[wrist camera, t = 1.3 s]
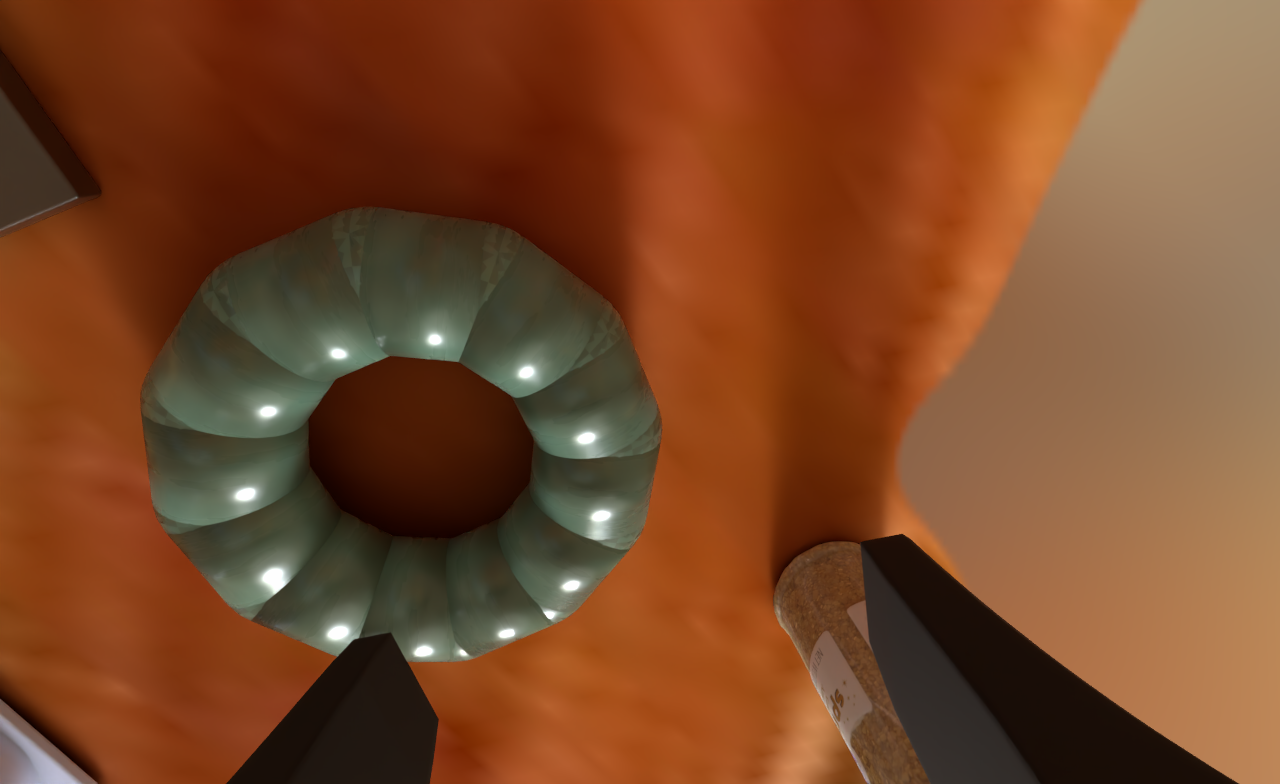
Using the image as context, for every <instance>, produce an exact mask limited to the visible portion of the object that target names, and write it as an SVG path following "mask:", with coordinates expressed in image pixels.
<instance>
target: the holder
mask: <svg viewBox="0 0 1280 784" xmlns="http://www.w3.org/2000/svg"><path fill="white" fill-rule="evenodd" d="M100 195H101V191H100V189H99V188H98V186H97V185H96V184H95V182H94V181H93V179H92V178H91V177H90V175H89V174H88V172H87V171H86V170H85V168H84V167H83V165H82V164H81V162H80V161H79V160H78V158H77V157H76V155H75V154H74V153H73V151H72V150H71V148H70V147H69V146H68V144H67V143H66V141H65V140H64V139H63V137H62V136H61V134H60V133H59V132H58V130H57V129H56V127H55V126H54V125H53V123H52V122H51V120H50V119H49V118H48V116H47V115H46V113H45V112H44V111H43V109H42V108H41V106H40V105H39V104H38V102H37V101H36V99H35V98H34V97H33V95H32V94H31V92H30V91H29V90H28V88H27V87H26V85H25V84H24V83H23V81H22V80H21V78H20V77H19V76H18V74H17V73H16V71H15V70H14V68H13V67H12V66H11V64H10V63H9V61H8V60H7V59H6V57H5V56H4V54H3V53H2V52H1V50H0V237H3V236H5V235H8V234H10V233H12V232H15V231H17V230H20V229H22V228H24V227H27V226H29V225H31V224H34V223H36V222H39V221H41V220H43V219H46V218H48V217H51V216H53V215H55V214H58V213H60V212H63V211H65V210H67V209H70V208H72V207H75V206H77V205H79V204H82V203H84V202H86V201H89V200H91V199H94V198H96V197H98V196H100Z"/></svg>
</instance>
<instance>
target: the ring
mask: <svg viewBox="0 0 1280 784" xmlns="http://www.w3.org/2000/svg"><path fill="white" fill-rule="evenodd" d="M389 356H399V357H410V358H421V359H432V360H443V361H454V362H459V363H461V364H462V365H464V366H465V367H467V368H469V369H470V370H472V371H473V372H475V373H476V374H478V375H480V376H481V377H483V378H484V379H486V380H487V381H489V382H491V383H492V384H494V385H495V386H497V387H498V388H500V389H502V390H503V391H505V392H506V393H508V394H509V395H511V396H512V398H513V400H514V402H515V404H516V406H517V408H518V410H519V412H520V414H521V416H522V418H523V420H524V422H525V423H526V425H527V427H528V429H529V431H530V433H531V435H532V437H533V439H534V447H533V456H532V465H531V474H530V482H529V484H528V485H527V486H526V487H525V489H524V490H523V491H522V492H521V494H520V495H519V496H518V497H517V499H516V500H515V501H514V502H513V504H512V505H511V506H510V507H509V509H508V510H507V511H506V512H505V514H504V515H503V516H502V517H501V518H499V519H496V520H494V521H492V522H489V523H487V524H484V525H482V526H480V527H477V528H475V529H473V530H470V531H468V532H466V533H463V534H461V535H459V536H456V537H454V538H434V537H406V536H392V535H390V534H388V533H386V532H384V531H382V530H380V529H378V528H376V527H374V526H372V525H370V524H368V523H366V522H364V521H362V520H361V519H359V518H357V517H355V516H353V515H351V514H349V513H347V512H345V511H343V510H341V509H340V508H339V507H338V505H337V504H336V502H335V501H334V499H333V498H332V497H331V495H330V494H329V492H328V491H327V490H326V488H325V487H324V485H323V484H322V482H321V481H320V480H319V478H318V477H317V475H316V474H315V472H314V471H313V470H312V468H311V467H310V462H309V423H308V418H309V417H310V416H311V414H312V413H313V411H314V410H315V408H316V407H317V405H318V404H319V403H320V401H321V400H322V398H323V397H324V395H325V394H326V392H327V391H328V390H329V388H330V387H331V385H332V384H333V382H334V381H335V379H337V378H339V377H342V376H344V375H346V374H349V373H351V372H353V371H356V370H358V369H360V368H363V367H365V366H368V365H370V364H372V363H375V362H377V361H379V360H382V359H384V358H387V357H389ZM140 402H141V416H142V424H143V432H144V440H145V448H146V456H147V464H148V472H149V480H150V488H151V497H152V504H153V508H154V511H155V514H156V518H157V520H158V521H159V523H160V524H161V526H162V527H163V529H164V530H165V532H166V533H167V534H168V535H169V537H170V538H171V539H172V540H173V541H174V542H175V544H176V545H177V546H178V547H179V548H180V549H181V551H182V552H183V553H184V554H185V555H186V556H187V558H188V559H189V560H190V561H191V562H192V563H193V565H194V566H195V567H196V568H197V569H198V570H199V572H200V573H201V574H202V575H203V576H204V577H205V578H206V580H207V581H208V582H209V583H210V584H211V585H212V587H213V588H214V589H215V590H216V591H217V592H218V594H219V595H220V596H221V597H222V598H223V599H224V601H225V602H226V603H227V604H228V605H229V606H230V607H231V608H232V609H233V610H235V611H236V612H237V613H238V614H239V615H241V616H243V617H245V618H247V619H249V620H250V621H253V622H255V623H258V624H260V625H262V626H265V627H267V628H270V629H272V630H274V631H277V632H279V633H281V634H284V635H286V636H289V637H291V638H293V639H296V640H298V641H301V642H303V643H305V644H308V645H310V646H313V647H315V648H317V649H320V650H322V651H324V652H327V653H329V654H332V655H334V656H336V657H338V656H339V654H340V653H341V652H342V651H343V650H344V649H345V648H346V647H347V646H348V645H349V644H350V643H351V642H352V641H353V640H354V639H358V638H363V637H369V636H374V635H379V634H384V633H389V632H391V633H392V635H393V637H394V639H395V641H396V643H397V644H398V646H399V648H400V650H401V652H402V654H403V655H404V657H405V659H406V661H407V662H456V661H466V660H469V659H473V658H476V657H479V656H481V655H484V654H486V653H488V652H491V651H493V650H495V649H498V648H500V647H502V646H505V645H507V644H509V643H512V642H514V641H516V640H519V639H521V638H523V637H526V636H528V635H530V634H533V633H535V632H538V631H540V630H542V629H545V628H547V627H549V626H552V625H554V624H556V623H558V622H560V621H562V620H564V619H565V618H567V617H569V616H570V615H572V614H573V613H574V612H575V611H576V610H577V609H578V608H579V607H580V606H581V605H582V604H583V603H584V602H585V600H586V599H587V598H588V597H589V596H590V595H591V594H592V592H593V591H594V590H595V589H596V588H597V587H598V585H599V584H600V583H601V582H602V581H603V580H604V579H605V577H606V576H607V575H608V574H609V573H610V572H611V570H612V569H613V568H614V567H615V566H616V565H617V564H618V562H619V561H620V560H621V559H622V558H623V557H624V555H625V554H626V553H627V552H628V551H629V550H630V549H631V547H632V546H633V545H634V544H635V542H636V541H637V539H638V537H639V536H640V535H641V532H642V530H643V528H644V525H645V521H646V518H647V513H648V508H649V502H650V497H651V491H652V486H653V480H654V475H655V470H656V464H657V459H658V453H659V448H660V442H661V434H662V421H661V415H660V411H659V408H658V404H657V402H656V399H655V397H654V394H653V392H652V390H651V387H650V385H649V382H648V380H647V377H646V375H645V372H644V370H643V368H642V365H641V363H640V360H639V358H638V355H637V353H636V351H635V348H634V346H633V343H632V341H631V338H630V336H629V333H628V331H627V329H626V326H625V324H624V322H623V320H622V318H621V316H620V314H619V313H618V311H617V310H616V309H615V308H614V306H613V305H612V304H611V303H610V302H609V301H608V300H607V299H605V298H604V297H603V296H602V295H601V294H600V293H598V292H597V291H596V290H594V289H593V288H592V287H590V286H589V285H588V284H586V283H585V282H584V281H582V280H581V279H579V278H578V277H577V276H575V275H574V274H573V273H571V272H570V271H569V270H567V269H566V268H565V267H563V266H562V265H561V264H559V263H558V262H557V261H555V260H554V259H553V258H551V257H550V256H549V255H547V254H546V253H545V252H543V251H542V250H541V249H539V248H538V247H537V246H535V245H534V244H533V243H531V242H530V241H529V240H527V239H526V238H525V237H523V236H521V235H520V234H518V233H517V232H515V231H513V230H511V229H510V228H507V227H504V226H502V225H499V224H495V223H490V222H485V221H477V220H470V219H463V218H455V217H448V216H441V215H433V214H426V213H418V212H411V211H404V210H396V209H389V208H381V207H358V208H350V209H346V210H343V211H340V212H337V213H335V214H332V215H330V216H327V217H325V218H323V219H320V220H318V221H315V222H313V223H311V224H308V225H306V226H304V227H301V228H299V229H296V230H294V231H292V232H289V233H287V234H285V235H282V236H280V237H277V238H275V239H273V240H270V241H268V242H265V243H263V244H261V245H258V246H256V247H254V248H251V249H249V250H246V251H244V252H242V253H239V254H237V255H235V256H233V257H231V258H229V259H227V260H226V261H224V262H223V263H221V264H220V265H219V266H218V267H216V268H215V269H214V270H213V271H212V272H211V273H210V274H209V275H208V276H207V277H206V279H205V280H204V281H203V283H202V284H201V286H200V287H199V289H198V291H197V292H196V294H195V296H194V297H193V299H192V300H191V302H190V304H189V305H188V307H187V309H186V310H185V312H184V313H183V315H182V317H181V318H180V320H179V322H178V323H177V325H176V326H175V328H174V330H173V331H172V333H171V335H170V336H169V338H168V339H167V341H166V343H165V344H164V346H163V348H162V349H161V351H160V352H159V354H158V356H157V357H156V359H155V360H154V362H153V364H152V365H151V367H150V369H149V371H148V373H147V375H146V377H145V379H144V383H143V385H142V390H141V398H140Z"/></svg>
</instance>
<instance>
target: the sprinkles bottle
mask: <svg viewBox="0 0 1280 784" xmlns="http://www.w3.org/2000/svg"><path fill="white" fill-rule="evenodd" d="M773 603H774V610H775V613H776V616H777V619H778V621H779V624H780V626H781V627H782V628H783V629H785V631H786V632H787V633H788V634H789V636H790V637H791V639H792V641H793V643H794V645H795V646H796V648H797V650H798V652H799V654H800V656H801V657H802V660H803V662H804V663H805V665H806V668H807V669H808V671H809V673H810V675H811V678H812V681H813V684H814V686H815V687H816V689H817V691H818V693H819V695H820V697H821V698H822V700H823V702H824V704H825V706H826V708H827V709H828V711H829V713H830V715H831V717H832V719H833V720H834V722H835V724H836V726H837V727H838V729H839V731H840V733H841V735H842V737H843V739H844V740H845V742H846V744H847V746H848V748H849V750H850V752H851V754H852V755H853V757H854V759H855V761H856V763H857V765H858V767H859V769H860V771H861V772H862V774H863V776H864V778H865V780H866V782H867V784H931V783H930V781H929V779H928V777H927V775H926V773H925V771H924V769H923V767H922V765H921V763H920V761H919V759H918V757H917V755H916V753H915V751H914V749H913V747H912V745H911V743H910V741H909V739H908V737H907V735H906V733H905V730H904V728H903V726H902V724H901V722H900V720H899V718H898V716H897V714H896V712H895V710H894V707H893V704H892V702H891V699H890V697H889V694H888V691H887V689H886V686H885V683H884V681H883V678H882V675H881V673H880V670H879V667H878V664H877V662H876V659H875V656H874V653H873V651H872V648H871V645H870V642H869V634H868V623H867V612H866V601H865V590H864V579H863V568H862V557H861V546H860V544H857V543H855V542H848V541H833V542H828V543H823V544H820V545H817V546H815V547H813V548H811V549H809V550H807V551H805V552H804V553H802V554H800V555H799V556H797V557H795V558H794V559H793V561H792V562H791V563H790V564H789V565H788V566H787V567H786V568H785V570H784V571H783V573H782V575H781V577H780V579H779V582H778V584H777V585H776V588H775V594H774V597H773Z"/></svg>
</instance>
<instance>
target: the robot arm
mask: <svg viewBox="0 0 1280 784" xmlns="http://www.w3.org/2000/svg"><path fill="white" fill-rule="evenodd" d="M860 546H861V557H862V568H863V579H864V590H865V601H866V612H867V623H868V634H869V642H870V645H871V648H872V651H873V653H874V656H875V659H876V662H877V664H878V667H879V670H880V673H881V675H882V678H883V681H884V683H885V686H886V689H887V691H888V694H889V697H890V699H891V702H892V704H893V707H894V710H895V712H896V714H897V716H898V718H899V720H900V722H901V724H902V726H903V728H904V730H905V733H906V735H907V737H908V739H909V741H910V743H911V745H912V747H913V749H914V751H915V753H916V755H917V757H918V759H919V761H920V763H921V765H922V767H923V769H924V771H925V773H926V775H927V777H928V779H929V781H930V783H931V784H1238V783H1237V782H1235V781H1234V780H1232V779H1230V778H1229V777H1227V776H1225V775H1224V774H1222V773H1220V772H1219V771H1217V770H1216V769H1214V768H1212V767H1211V766H1209V765H1208V764H1206V763H1205V762H1203V761H1201V760H1200V759H1198V758H1197V757H1195V756H1193V755H1192V754H1191V753H1189V752H1187V751H1186V750H1184V749H1183V748H1181V747H1180V746H1178V745H1177V744H1175V743H1173V742H1172V741H1170V740H1169V739H1167V738H1166V737H1164V736H1163V735H1161V734H1160V733H1158V732H1156V731H1155V730H1154V729H1152V728H1151V727H1149V726H1148V725H1146V724H1145V723H1143V722H1141V721H1140V720H1139V719H1137V718H1136V717H1134V716H1133V715H1131V714H1130V713H1129V712H1127V711H1126V710H1124V709H1123V708H1121V707H1120V706H1118V705H1117V704H1116V703H1114V702H1113V701H1111V700H1110V699H1108V698H1107V697H1106V696H1104V695H1103V694H1101V693H1100V692H1099V691H1097V690H1096V689H1094V688H1093V687H1092V686H1090V685H1089V684H1088V683H1086V682H1085V681H1083V680H1082V679H1081V678H1079V677H1078V676H1077V675H1075V674H1074V673H1072V672H1071V671H1070V670H1068V669H1067V668H1066V667H1064V666H1063V665H1062V664H1060V663H1059V662H1058V661H1056V660H1055V659H1054V658H1052V657H1051V656H1050V655H1048V654H1047V653H1046V652H1044V651H1043V650H1042V649H1040V648H1039V647H1038V646H1037V645H1035V644H1034V643H1033V642H1032V641H1030V640H1029V639H1028V638H1027V637H1025V636H1024V635H1023V634H1021V633H1020V632H1019V631H1018V630H1016V629H1015V628H1014V627H1013V626H1011V625H1010V624H1009V623H1007V622H1006V621H1005V620H1004V619H1002V618H1001V617H1000V616H999V615H997V614H996V613H995V612H994V611H993V610H991V609H990V608H989V607H988V606H986V605H985V604H984V603H983V602H981V601H980V600H979V599H978V598H977V597H976V596H974V595H973V594H972V593H971V592H970V591H969V590H967V589H966V588H965V587H964V586H963V585H962V584H960V583H959V582H958V581H957V580H956V579H955V578H953V577H952V576H951V575H950V574H949V573H948V572H947V571H945V570H944V569H943V568H942V567H941V566H940V565H939V564H937V563H936V562H935V561H934V560H933V559H932V558H931V557H930V556H928V555H927V554H926V553H925V552H924V551H923V550H922V549H921V548H920V547H919V546H917V545H916V544H915V543H914V542H913V541H912V540H911V539H910V538H908V537H906V536H905V535H903V534H899V535H894V536H889V537H883V538H878V539H873V540H868V541H863V542H860ZM438 720H439V719H438V717H437V716H436V714H435V712H434V710H433V708H432V706H431V705H430V703H429V701H428V699H427V697H426V696H425V694H424V692H423V690H422V688H421V686H420V685H419V683H418V681H417V679H416V677H415V675H414V674H413V672H412V670H411V668H410V666H409V664H408V663H407V661H406V659H405V657H404V655H403V654H402V652H401V650H400V648H399V646H398V644H397V643H396V641H395V639H394V637H393V635H392V633H391V632H389V633H384V634H379V635H374V636H369V637H363V638H358V639H354V640H353V641H352V642H351V643H350V644H349V645H348V646H347V647H346V648H345V649H344V650H343V651H342V652H341V653H340V654H339V656H338V657H337V658H336V659H335V660H334V661H333V662H332V663H331V664H330V666H329V667H328V668H327V669H326V670H325V671H324V672H323V674H322V675H321V676H320V677H319V678H318V679H317V680H316V682H315V683H314V684H313V685H312V686H311V687H310V688H309V690H308V691H307V692H306V693H305V694H304V695H303V697H302V698H301V699H300V700H299V701H298V702H297V704H296V705H295V706H294V707H293V708H292V709H291V711H290V712H289V713H288V714H287V715H286V716H285V717H284V719H283V720H282V721H281V722H280V723H279V724H278V725H277V727H276V728H275V729H274V730H273V731H272V732H271V733H270V735H269V736H268V737H267V738H266V739H265V740H264V742H263V743H262V744H261V745H260V746H259V747H258V748H257V750H256V751H255V752H254V753H253V754H252V755H251V756H250V758H249V759H248V760H247V761H246V762H245V763H244V764H243V766H242V767H241V768H240V769H239V770H238V771H237V772H236V773H235V775H234V776H233V777H232V778H231V779H230V780H229V781H228V782H227V783H226V784H430V777H431V771H432V765H433V759H434V751H435V743H436V735H437V727H438ZM0 784H98V783H97V782H96V781H95V780H93V779H92V778H91V777H90V776H89V775H88V774H87V773H85V772H84V771H83V770H82V769H81V768H80V767H78V766H77V765H76V764H75V763H74V762H73V761H72V760H70V759H69V758H68V757H67V756H66V755H65V754H63V753H62V752H61V751H60V750H59V749H58V748H57V747H55V746H54V745H53V744H52V743H51V742H50V741H48V740H47V739H46V738H45V737H44V736H43V735H41V734H40V733H39V732H38V731H37V730H36V729H35V728H33V727H32V726H31V725H30V724H29V723H28V722H26V721H25V720H24V719H23V718H22V717H21V716H20V715H18V714H17V713H16V712H15V711H14V710H13V709H11V708H10V707H9V706H8V705H7V704H6V703H4V702H3V701H2V700H1V699H0Z"/></svg>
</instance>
